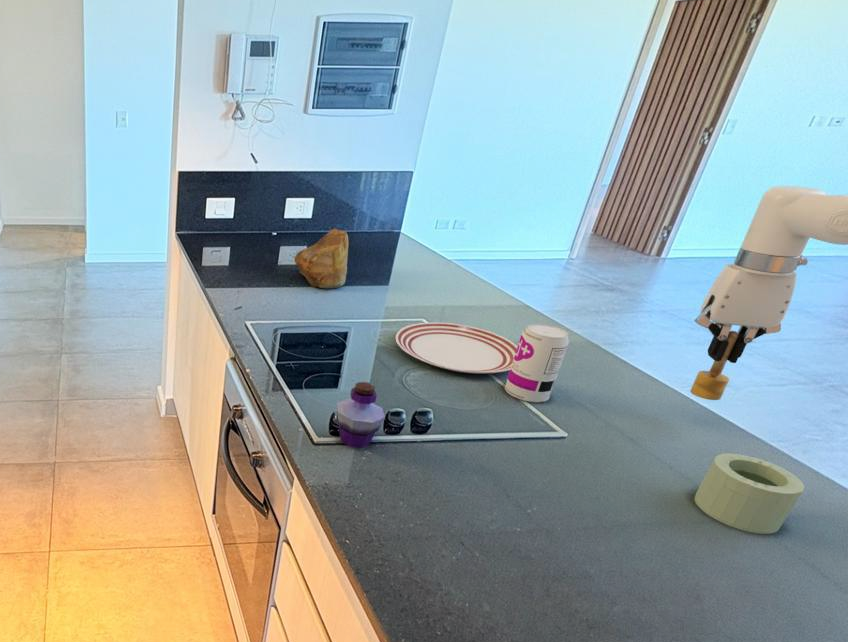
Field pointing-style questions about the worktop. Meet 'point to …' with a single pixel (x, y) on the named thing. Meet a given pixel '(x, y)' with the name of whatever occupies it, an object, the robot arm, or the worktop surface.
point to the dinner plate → (457, 347)
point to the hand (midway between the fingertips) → (721, 358)
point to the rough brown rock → (325, 260)
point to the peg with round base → (714, 375)
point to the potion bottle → (359, 416)
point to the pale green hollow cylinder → (748, 493)
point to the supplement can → (537, 362)
